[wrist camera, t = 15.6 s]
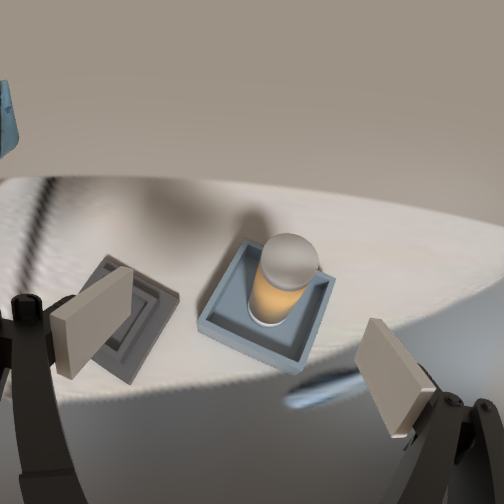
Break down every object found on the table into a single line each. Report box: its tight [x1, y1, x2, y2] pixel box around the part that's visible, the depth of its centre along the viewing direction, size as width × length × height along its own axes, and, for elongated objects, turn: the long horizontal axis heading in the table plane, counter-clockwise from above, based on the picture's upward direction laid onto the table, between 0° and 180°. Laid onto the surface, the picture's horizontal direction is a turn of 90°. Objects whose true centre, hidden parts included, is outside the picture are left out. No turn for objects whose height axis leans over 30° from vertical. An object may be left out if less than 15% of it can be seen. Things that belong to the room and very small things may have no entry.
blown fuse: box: [247, 233, 319, 328], centre depth 31 cm, size 5×5×12 cm
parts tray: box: [197, 238, 336, 376], centre depth 35 cm, size 12×12×4 cm
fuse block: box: [79, 258, 179, 385], centre depth 32 cm, size 12×12×2 cm
